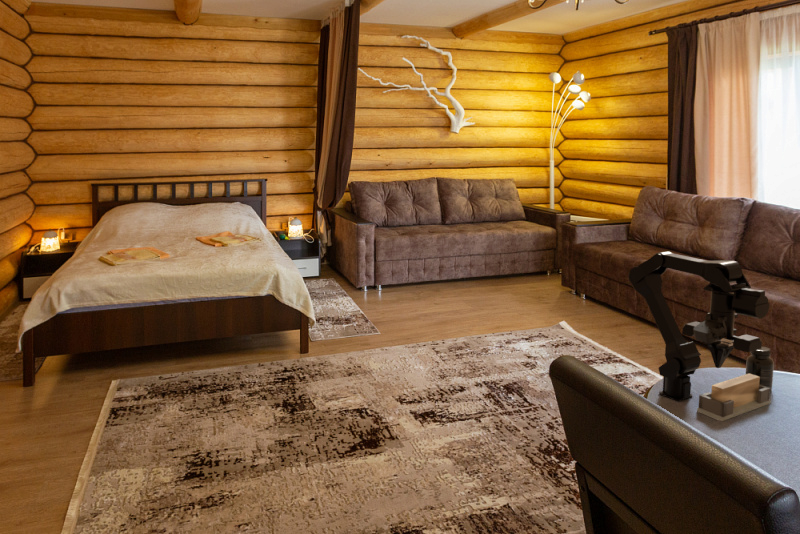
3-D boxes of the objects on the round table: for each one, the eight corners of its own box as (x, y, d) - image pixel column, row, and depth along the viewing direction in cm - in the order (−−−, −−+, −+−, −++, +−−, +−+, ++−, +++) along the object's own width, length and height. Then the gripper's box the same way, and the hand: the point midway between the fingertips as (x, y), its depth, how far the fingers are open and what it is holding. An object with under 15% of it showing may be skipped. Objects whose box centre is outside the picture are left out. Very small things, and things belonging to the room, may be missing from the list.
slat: (710, 408, 164) (711, 385, 163) (747, 395, 172) (749, 373, 170) (720, 412, 162) (722, 388, 160) (757, 399, 169) (759, 376, 168)
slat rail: (697, 411, 165) (698, 395, 164) (745, 394, 175) (746, 379, 174) (721, 421, 159) (722, 404, 158) (770, 403, 169) (771, 387, 168)
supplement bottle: (772, 386, 180) (776, 346, 178) (771, 394, 175) (775, 353, 172) (745, 382, 184) (748, 343, 182) (743, 390, 178) (746, 350, 176)
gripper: (670, 306, 164) (666, 363, 167) (737, 323, 148) (732, 385, 151) (697, 300, 169) (693, 355, 172) (765, 316, 153) (760, 376, 156)
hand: (718, 367), depth 163 cm, fingers closed
